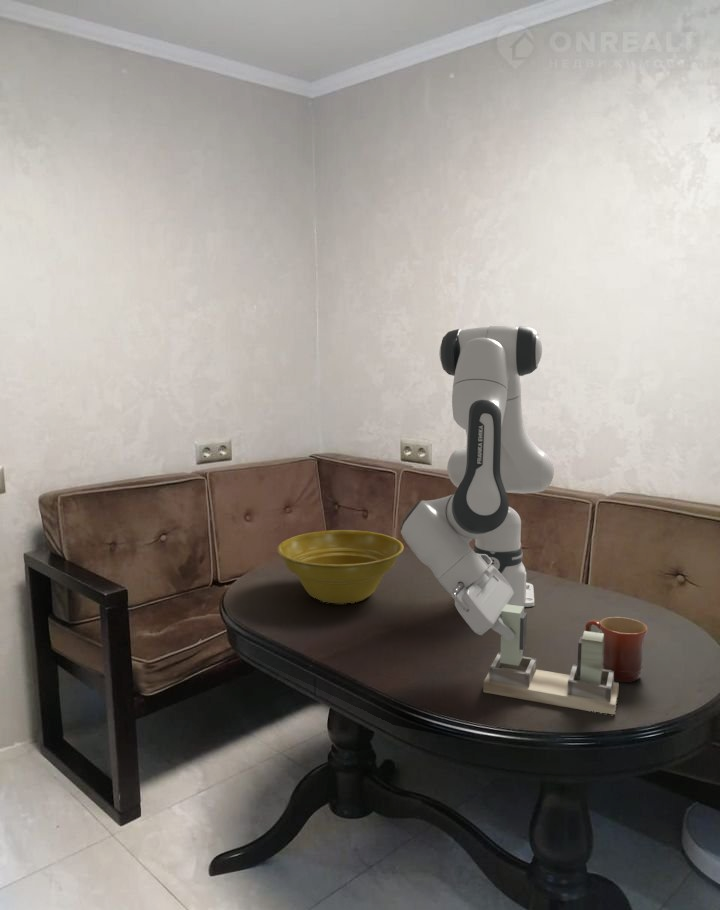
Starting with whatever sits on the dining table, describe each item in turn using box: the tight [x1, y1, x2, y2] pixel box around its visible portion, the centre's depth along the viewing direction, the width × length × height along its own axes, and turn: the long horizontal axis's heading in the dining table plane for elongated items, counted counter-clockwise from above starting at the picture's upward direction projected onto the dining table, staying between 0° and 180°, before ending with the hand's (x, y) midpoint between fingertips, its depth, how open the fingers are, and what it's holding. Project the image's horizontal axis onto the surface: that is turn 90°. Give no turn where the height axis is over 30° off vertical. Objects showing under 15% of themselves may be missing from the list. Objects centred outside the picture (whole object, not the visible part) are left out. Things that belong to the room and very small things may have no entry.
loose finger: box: [499, 604, 528, 666], centre depth 134 cm, size 4×4×10 cm
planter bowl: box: [276, 529, 405, 605], centre depth 186 cm, size 32×32×13 cm
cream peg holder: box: [482, 630, 620, 715], centre depth 132 cm, size 9×23×12 cm, turn 67°
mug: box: [584, 616, 649, 683], centre depth 140 cm, size 12×9×10 cm
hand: (515, 633), depth 134 cm, fingers closed on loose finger, 4 cm apart
